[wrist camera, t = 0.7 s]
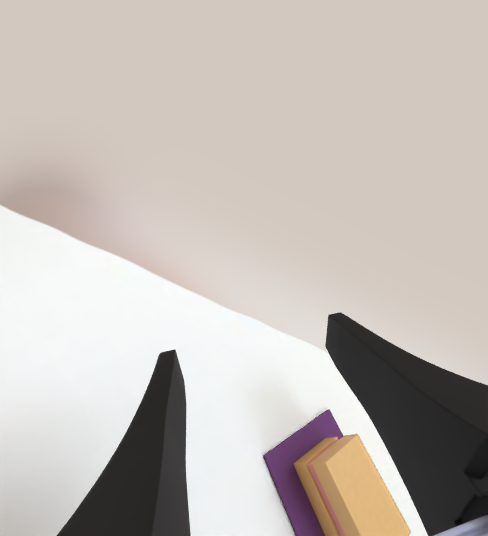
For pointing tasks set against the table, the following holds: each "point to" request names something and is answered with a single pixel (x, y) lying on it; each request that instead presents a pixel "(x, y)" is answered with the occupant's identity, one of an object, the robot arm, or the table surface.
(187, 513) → the robot arm
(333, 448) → the sandwich
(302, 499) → the felt cloth
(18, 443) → the table surface
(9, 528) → the table surface
